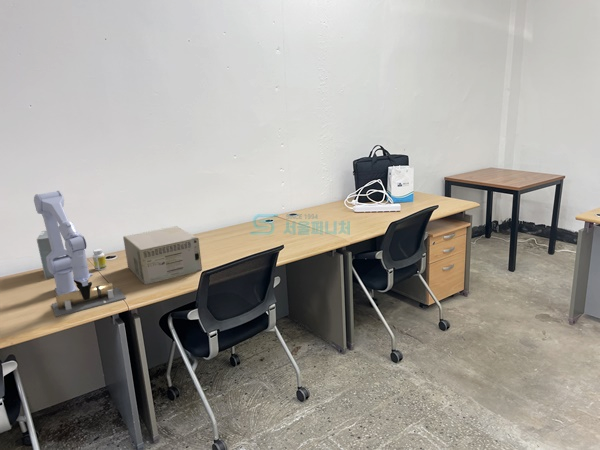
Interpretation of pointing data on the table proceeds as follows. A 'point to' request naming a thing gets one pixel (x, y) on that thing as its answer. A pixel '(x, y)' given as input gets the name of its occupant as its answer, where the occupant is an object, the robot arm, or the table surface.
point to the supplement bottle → (99, 260)
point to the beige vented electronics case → (162, 254)
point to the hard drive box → (44, 252)
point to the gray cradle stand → (88, 303)
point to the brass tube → (77, 296)
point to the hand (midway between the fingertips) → (85, 297)
